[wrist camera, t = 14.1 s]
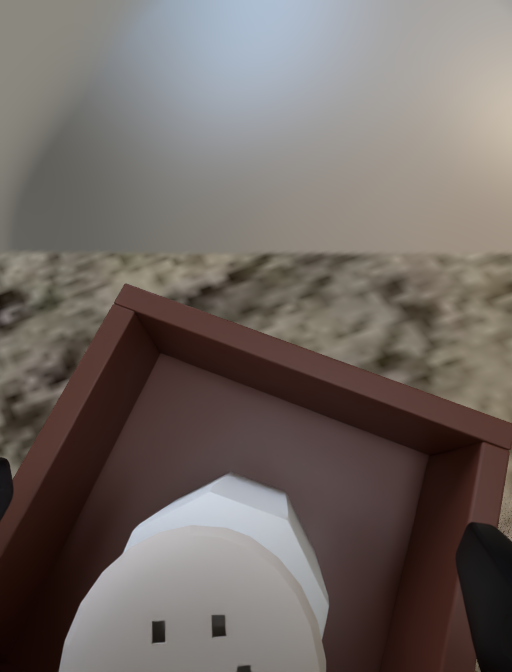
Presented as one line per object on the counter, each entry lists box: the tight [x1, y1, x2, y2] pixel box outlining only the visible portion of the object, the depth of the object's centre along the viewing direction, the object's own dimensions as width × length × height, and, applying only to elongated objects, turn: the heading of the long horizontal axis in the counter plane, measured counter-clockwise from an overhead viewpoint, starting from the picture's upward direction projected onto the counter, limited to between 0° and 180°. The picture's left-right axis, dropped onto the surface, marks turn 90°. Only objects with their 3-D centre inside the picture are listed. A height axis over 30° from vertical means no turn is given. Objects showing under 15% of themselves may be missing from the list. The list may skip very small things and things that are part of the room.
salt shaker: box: [59, 472, 329, 672], centre depth 9 cm, size 5×5×11 cm
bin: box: [0, 284, 512, 672], centre depth 13 cm, size 13×13×5 cm
